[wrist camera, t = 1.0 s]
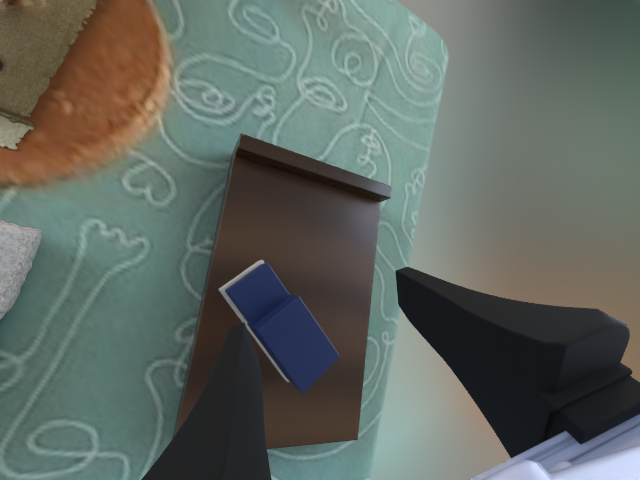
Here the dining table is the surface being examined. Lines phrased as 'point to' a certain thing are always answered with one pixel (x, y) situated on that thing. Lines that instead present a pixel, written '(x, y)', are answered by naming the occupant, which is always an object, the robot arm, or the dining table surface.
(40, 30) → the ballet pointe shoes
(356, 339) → the shoe shelf
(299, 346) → the trainer
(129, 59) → the dining table surface
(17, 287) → the washcloth
